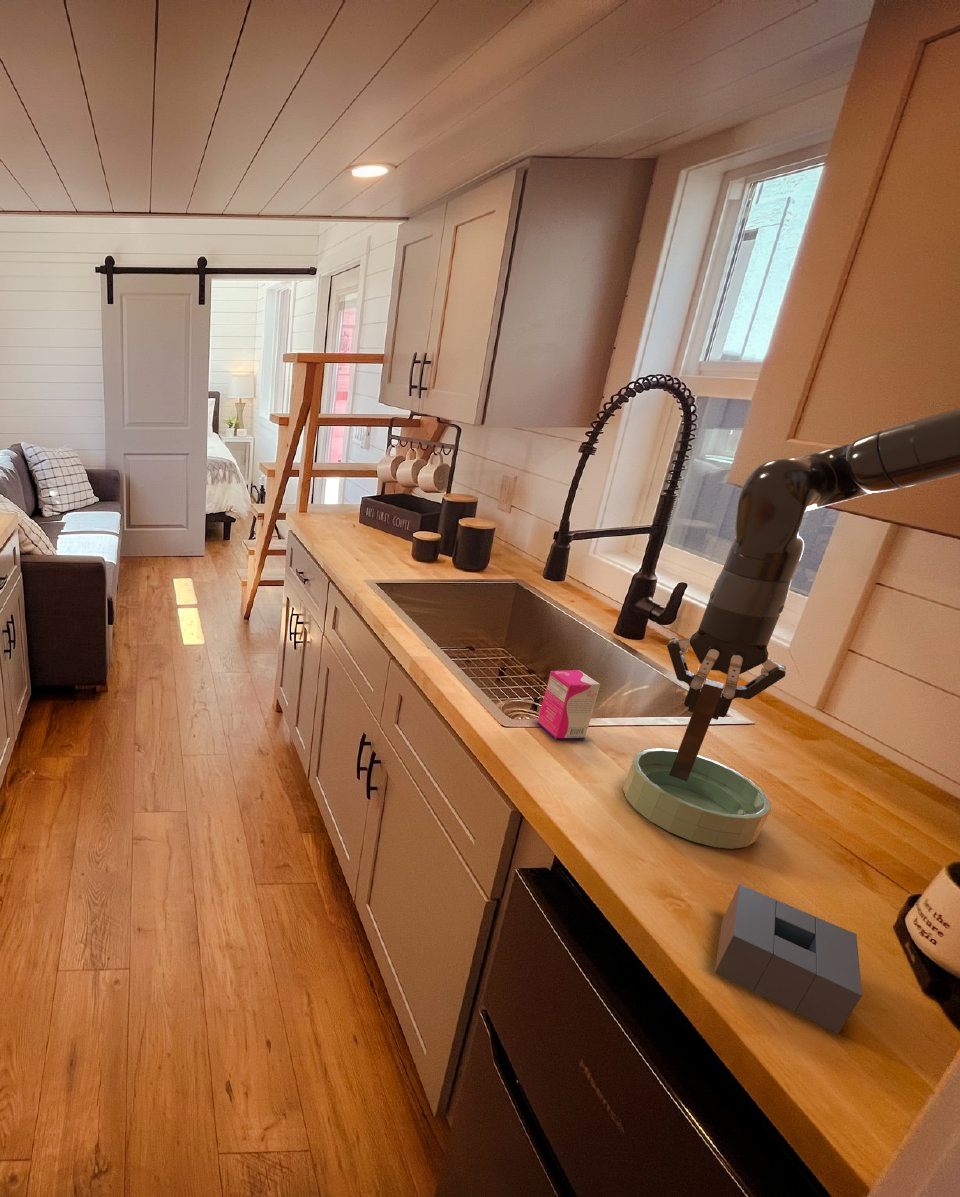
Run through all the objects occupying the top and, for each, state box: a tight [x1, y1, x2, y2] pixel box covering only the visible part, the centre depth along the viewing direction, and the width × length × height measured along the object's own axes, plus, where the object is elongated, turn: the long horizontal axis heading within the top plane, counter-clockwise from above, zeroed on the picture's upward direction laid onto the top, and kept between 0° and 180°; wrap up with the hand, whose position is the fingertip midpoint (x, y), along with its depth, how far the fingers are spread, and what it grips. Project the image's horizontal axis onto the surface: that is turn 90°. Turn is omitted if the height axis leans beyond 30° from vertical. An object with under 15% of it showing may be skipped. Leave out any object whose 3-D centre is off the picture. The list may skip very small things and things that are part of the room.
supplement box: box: [536, 669, 601, 741], centre depth 117 cm, size 6×6×12 cm
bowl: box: [622, 747, 772, 850], centre depth 98 cm, size 16×16×6 cm
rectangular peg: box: [669, 678, 725, 781], centre depth 96 cm, size 2×2×16 cm
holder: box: [714, 883, 863, 1035], centre depth 73 cm, size 10×10×6 cm
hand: (702, 712), depth 95 cm, fingers closed on rectangular peg, 2 cm apart
